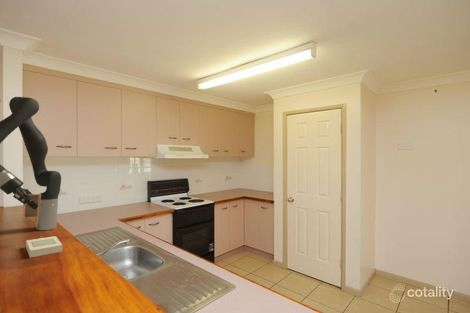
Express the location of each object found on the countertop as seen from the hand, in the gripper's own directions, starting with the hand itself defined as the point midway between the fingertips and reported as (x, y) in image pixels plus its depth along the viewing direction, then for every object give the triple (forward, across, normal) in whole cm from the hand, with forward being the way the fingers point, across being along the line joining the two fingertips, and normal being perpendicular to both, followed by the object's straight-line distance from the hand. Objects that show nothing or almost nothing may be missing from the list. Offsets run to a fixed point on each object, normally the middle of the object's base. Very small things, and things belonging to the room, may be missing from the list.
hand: (38, 206), depth 120 cm
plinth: (+16, -12, +8) cm, 21 cm away
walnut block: (+2, 0, +4) cm, 5 cm away
